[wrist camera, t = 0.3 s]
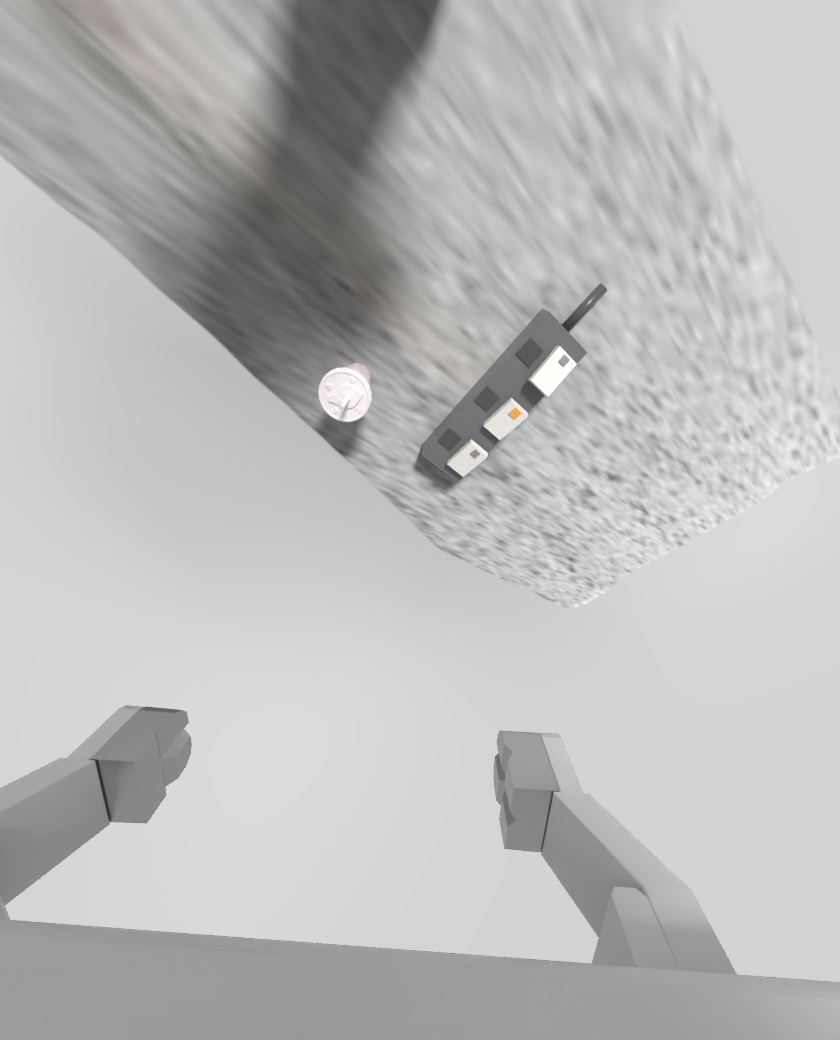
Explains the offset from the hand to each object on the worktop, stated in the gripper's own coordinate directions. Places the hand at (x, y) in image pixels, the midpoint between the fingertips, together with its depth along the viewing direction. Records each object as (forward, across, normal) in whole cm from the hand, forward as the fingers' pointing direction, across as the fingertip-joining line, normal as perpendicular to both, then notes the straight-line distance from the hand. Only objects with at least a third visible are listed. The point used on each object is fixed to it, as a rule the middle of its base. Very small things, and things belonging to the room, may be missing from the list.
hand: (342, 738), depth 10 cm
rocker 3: (+45, -16, -14) cm, 50 cm away
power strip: (+50, -12, -12) cm, 53 cm away
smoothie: (+50, +9, -12) cm, 52 cm away
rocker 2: (+47, -12, -8) cm, 49 cm away
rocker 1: (+49, -7, -2) cm, 49 cm away
